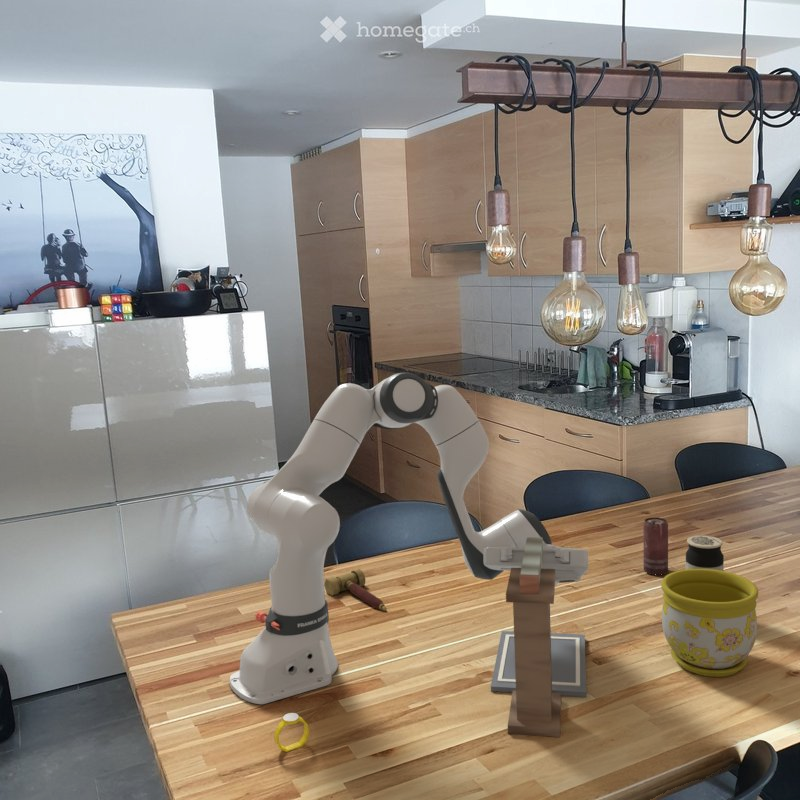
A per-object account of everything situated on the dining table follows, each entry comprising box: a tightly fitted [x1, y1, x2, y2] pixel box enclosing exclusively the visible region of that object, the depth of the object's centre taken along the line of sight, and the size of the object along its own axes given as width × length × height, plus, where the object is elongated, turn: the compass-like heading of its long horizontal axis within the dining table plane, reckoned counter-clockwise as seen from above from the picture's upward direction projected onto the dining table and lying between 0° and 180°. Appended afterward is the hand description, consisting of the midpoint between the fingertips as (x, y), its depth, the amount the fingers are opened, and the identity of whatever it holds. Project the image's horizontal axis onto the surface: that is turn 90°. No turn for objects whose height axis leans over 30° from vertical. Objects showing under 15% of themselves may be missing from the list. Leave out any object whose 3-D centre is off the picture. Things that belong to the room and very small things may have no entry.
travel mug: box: [685, 535, 725, 571], centre depth 180 cm, size 8×8×18 cm
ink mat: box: [490, 630, 587, 698], centre depth 164 cm, size 24×18×1 cm
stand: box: [505, 568, 562, 738], centre depth 143 cm, size 12×9×26 cm
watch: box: [273, 712, 310, 753], centre depth 139 cm, size 6×3×6 cm, turn 119°
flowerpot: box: [660, 568, 759, 678], centre depth 160 cm, size 18×18×16 cm
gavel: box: [324, 568, 387, 612], centre depth 202 cm, size 21×5×10 cm
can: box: [643, 517, 669, 576], centre depth 207 cm, size 6×6×14 cm
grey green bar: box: [519, 537, 543, 594], centre depth 145 cm, size 20×3×3 cm, turn 168°
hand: (533, 552), depth 150 cm, fingers open, 8 cm apart
